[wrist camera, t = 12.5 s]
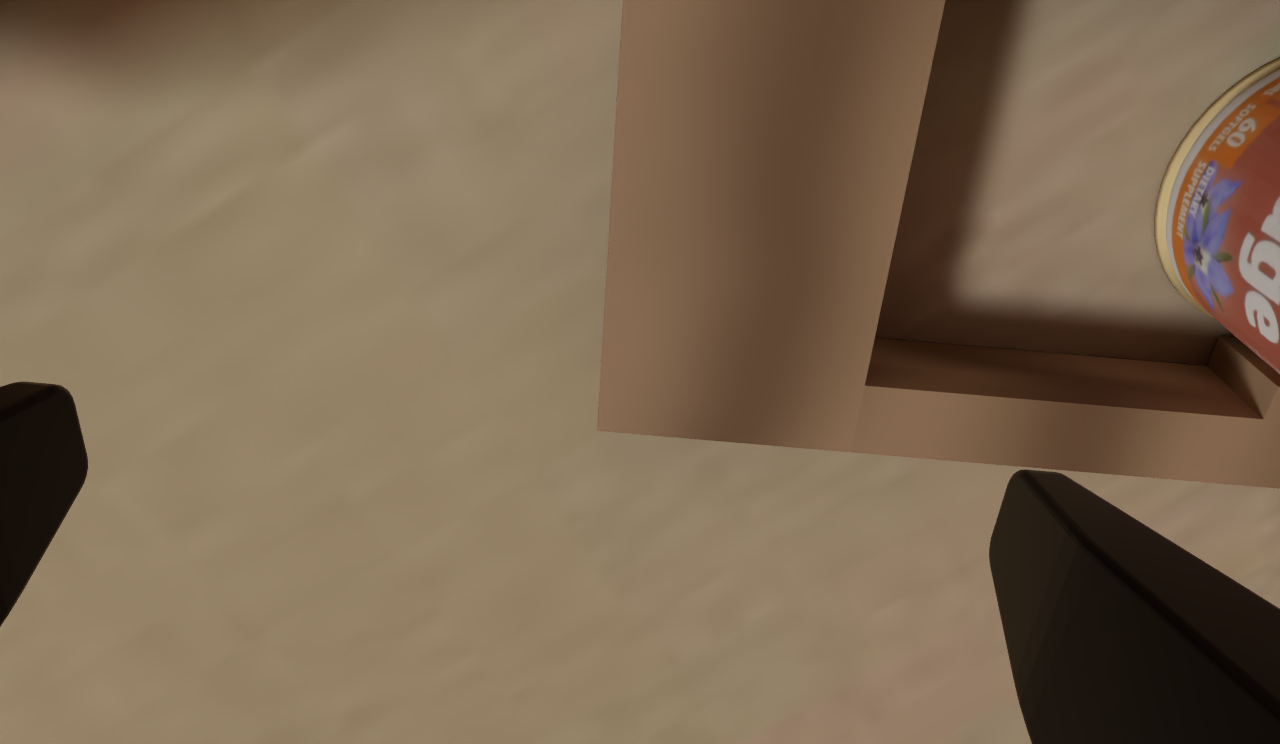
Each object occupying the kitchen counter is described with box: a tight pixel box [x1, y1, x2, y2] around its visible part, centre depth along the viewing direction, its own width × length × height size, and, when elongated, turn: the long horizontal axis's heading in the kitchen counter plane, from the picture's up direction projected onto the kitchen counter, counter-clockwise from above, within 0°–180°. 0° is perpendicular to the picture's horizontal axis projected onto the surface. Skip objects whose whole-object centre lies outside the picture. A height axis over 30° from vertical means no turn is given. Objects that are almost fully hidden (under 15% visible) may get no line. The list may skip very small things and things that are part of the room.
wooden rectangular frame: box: [597, 0, 1280, 488], centre depth 19 cm, size 20×12×2 cm, turn 86°
